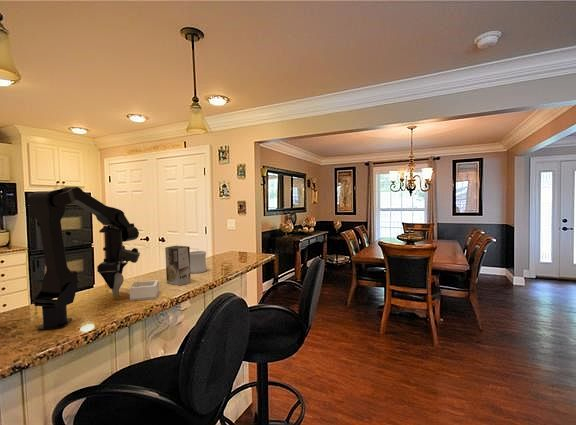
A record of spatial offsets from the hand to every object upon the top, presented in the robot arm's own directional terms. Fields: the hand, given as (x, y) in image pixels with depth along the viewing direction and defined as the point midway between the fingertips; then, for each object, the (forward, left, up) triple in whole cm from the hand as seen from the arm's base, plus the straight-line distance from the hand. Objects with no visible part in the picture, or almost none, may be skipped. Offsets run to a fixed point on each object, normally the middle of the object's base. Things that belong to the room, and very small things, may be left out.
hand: (115, 285), depth 112 cm
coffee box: (+16, -21, -5) cm, 27 cm away
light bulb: (0, 0, -5) cm, 5 cm away
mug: (+35, -27, -5) cm, 44 cm away
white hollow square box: (0, -10, -5) cm, 11 cm away
